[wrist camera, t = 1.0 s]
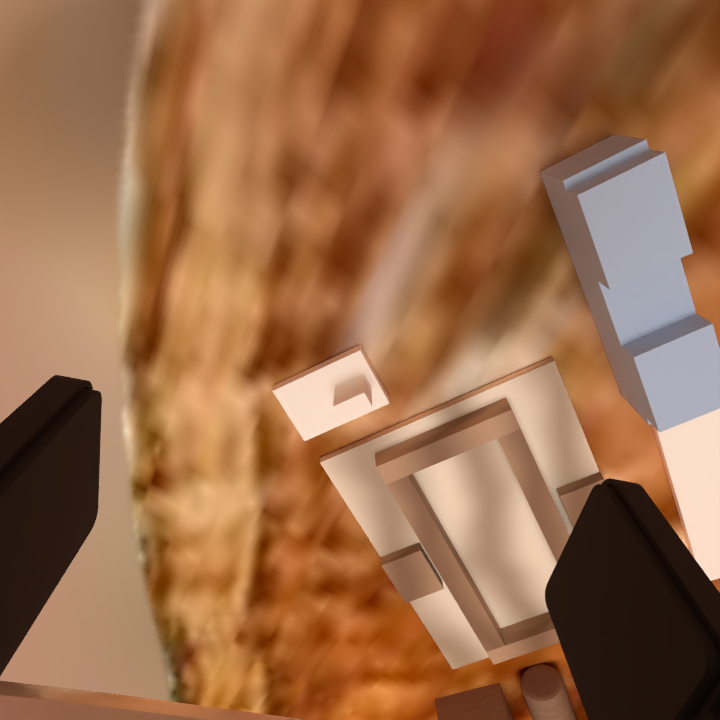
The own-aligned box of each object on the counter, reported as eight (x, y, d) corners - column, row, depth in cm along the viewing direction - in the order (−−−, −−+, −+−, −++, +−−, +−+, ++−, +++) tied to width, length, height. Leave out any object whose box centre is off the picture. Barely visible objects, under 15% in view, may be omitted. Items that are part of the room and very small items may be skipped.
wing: (704, 376, 36) (715, 385, 35) (748, 553, 42) (758, 565, 41) (641, 400, 37) (650, 409, 36) (693, 571, 43) (702, 583, 41)
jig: (551, 356, 35) (562, 371, 33) (647, 594, 43) (661, 618, 41) (320, 457, 38) (318, 476, 36) (451, 662, 46) (455, 687, 44)
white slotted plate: (360, 342, 35) (360, 367, 31) (388, 394, 36) (391, 423, 33) (275, 382, 36) (266, 410, 32) (306, 431, 37) (300, 462, 34)
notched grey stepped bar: (538, 171, 30) (573, 185, 25) (610, 134, 30) (662, 141, 25) (625, 407, 36) (667, 456, 31) (687, 381, 36) (741, 427, 31)
